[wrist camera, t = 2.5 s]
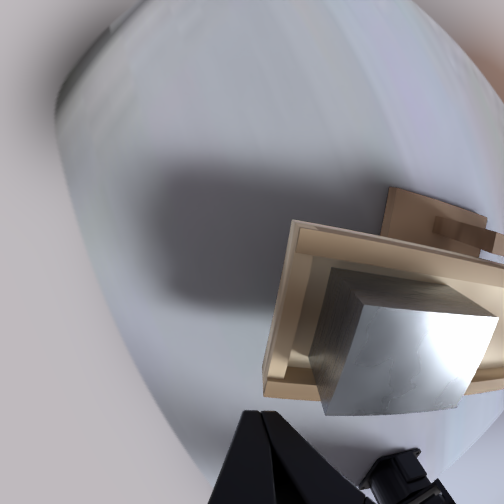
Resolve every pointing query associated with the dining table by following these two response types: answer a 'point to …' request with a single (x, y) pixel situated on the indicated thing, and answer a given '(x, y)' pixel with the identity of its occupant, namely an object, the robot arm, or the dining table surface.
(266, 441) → the robot arm
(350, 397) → the block
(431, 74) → the dining table surface
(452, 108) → the dining table surface
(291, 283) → the beam
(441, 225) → the stand
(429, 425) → the dining table surface
